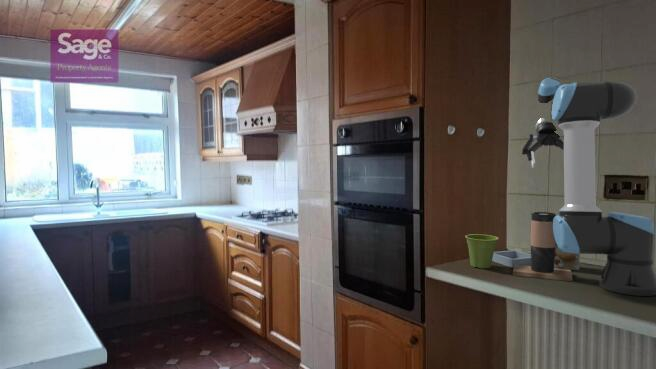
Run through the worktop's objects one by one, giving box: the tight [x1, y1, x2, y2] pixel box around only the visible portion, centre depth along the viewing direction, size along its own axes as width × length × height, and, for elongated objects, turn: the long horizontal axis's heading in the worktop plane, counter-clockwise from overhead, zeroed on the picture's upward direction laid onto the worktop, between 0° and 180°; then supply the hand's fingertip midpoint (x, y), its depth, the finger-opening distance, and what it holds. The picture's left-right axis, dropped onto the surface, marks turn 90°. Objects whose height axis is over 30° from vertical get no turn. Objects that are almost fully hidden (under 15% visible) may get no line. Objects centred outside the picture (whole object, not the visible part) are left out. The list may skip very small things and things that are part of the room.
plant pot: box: [464, 233, 499, 269], centre depth 162 cm, size 12×12×11 cm
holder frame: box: [492, 249, 531, 269], centre depth 168 cm, size 13×13×3 cm
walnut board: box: [512, 265, 573, 282], centre depth 150 cm, size 18×10×2 cm, turn 63°
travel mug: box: [530, 211, 557, 273], centre depth 149 cm, size 8×8×20 cm
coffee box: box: [554, 241, 581, 271], centre depth 159 cm, size 9×6×16 cm
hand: (553, 165), depth 162 cm, fingers open, 13 cm apart
